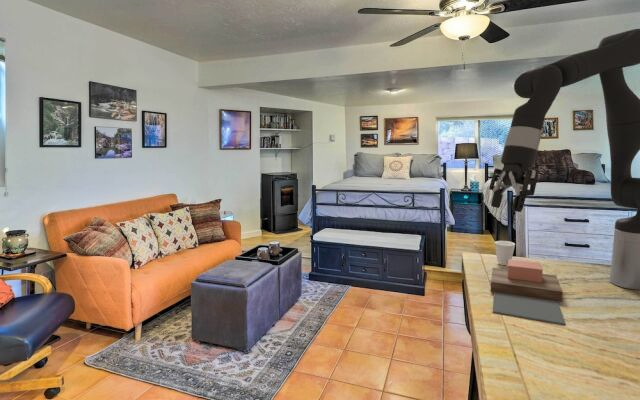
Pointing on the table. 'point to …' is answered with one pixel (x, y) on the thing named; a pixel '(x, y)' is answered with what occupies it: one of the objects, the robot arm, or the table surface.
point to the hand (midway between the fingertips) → (505, 209)
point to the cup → (504, 251)
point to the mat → (528, 308)
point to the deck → (526, 286)
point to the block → (525, 270)
